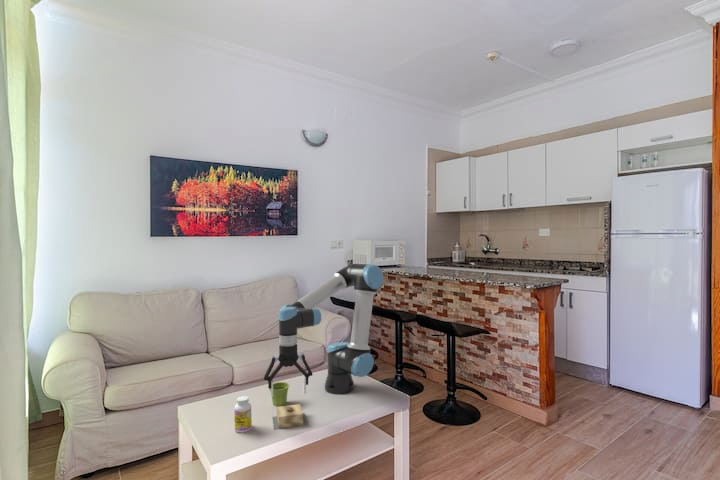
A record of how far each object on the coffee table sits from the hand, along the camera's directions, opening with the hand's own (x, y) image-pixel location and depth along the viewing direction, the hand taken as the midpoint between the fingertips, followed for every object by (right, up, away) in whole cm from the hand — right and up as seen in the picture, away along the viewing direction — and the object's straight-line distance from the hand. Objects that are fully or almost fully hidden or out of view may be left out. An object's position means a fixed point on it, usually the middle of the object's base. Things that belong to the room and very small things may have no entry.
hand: (288, 394), depth 168 cm
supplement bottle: (-18, -12, -6) cm, 22 cm away
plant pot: (-7, -12, +18) cm, 23 cm away
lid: (0, -12, 0) cm, 12 cm away
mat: (0, -12, 0) cm, 12 cm away
